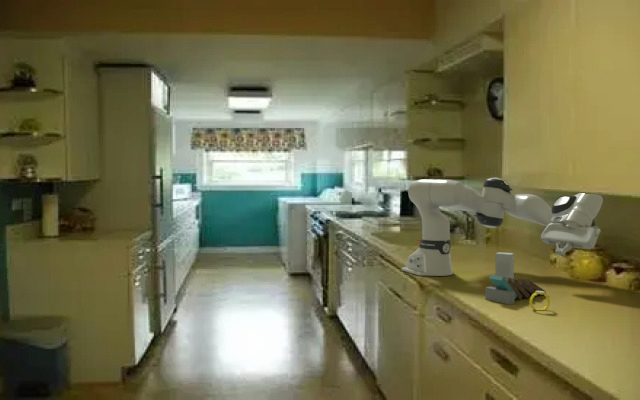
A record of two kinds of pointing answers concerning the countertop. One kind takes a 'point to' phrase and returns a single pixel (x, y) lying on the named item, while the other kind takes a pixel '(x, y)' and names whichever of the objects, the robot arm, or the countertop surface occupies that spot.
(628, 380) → the countertop surface
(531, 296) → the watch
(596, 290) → the countertop surface
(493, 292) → the end block
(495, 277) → the domino
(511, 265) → the skincare box
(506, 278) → the domino
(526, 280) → the domino
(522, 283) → the domino
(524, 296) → the domino
